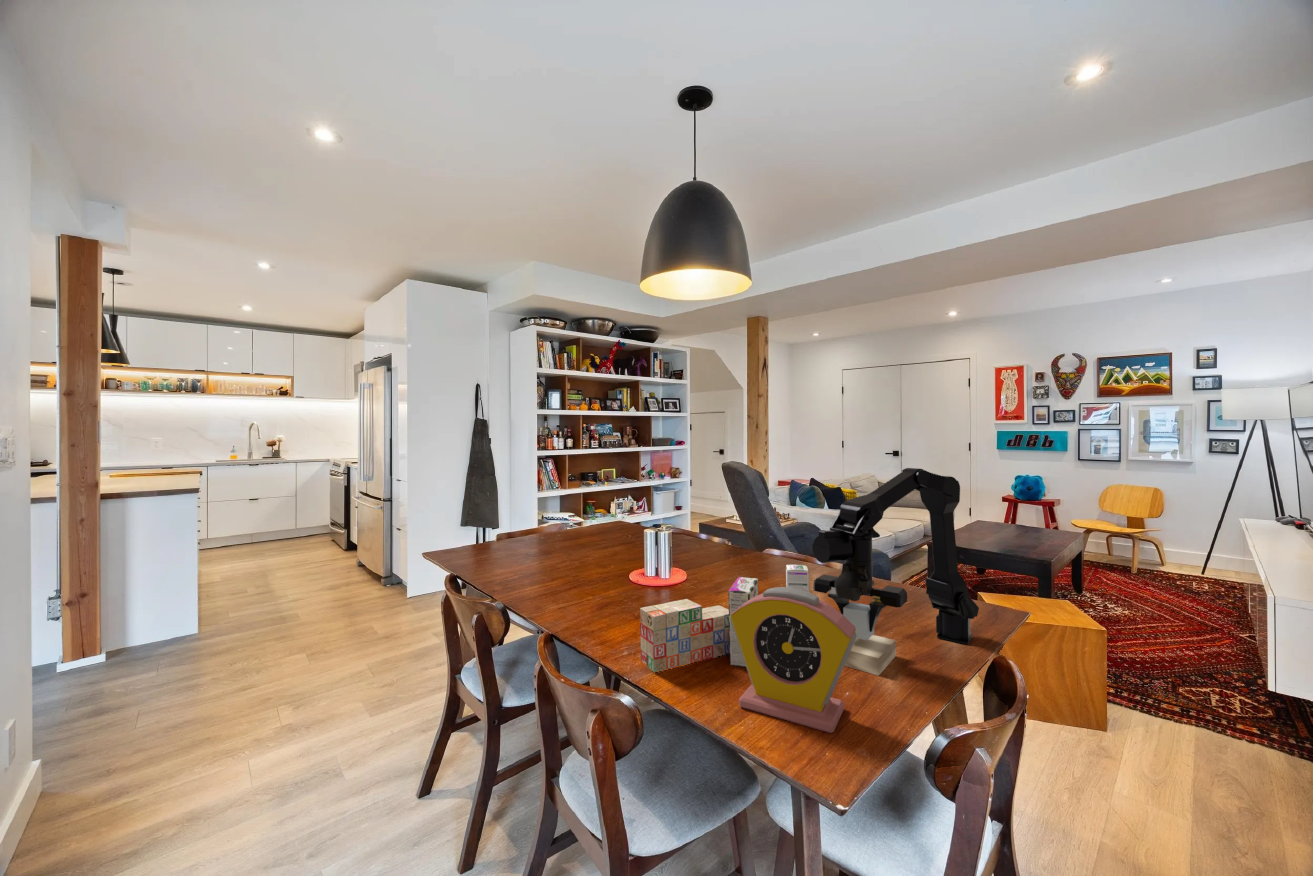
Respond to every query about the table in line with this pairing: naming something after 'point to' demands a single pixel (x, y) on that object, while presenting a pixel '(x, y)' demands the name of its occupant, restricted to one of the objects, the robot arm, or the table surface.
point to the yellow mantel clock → (793, 656)
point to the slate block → (859, 619)
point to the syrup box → (797, 577)
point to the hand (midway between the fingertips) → (858, 628)
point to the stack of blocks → (682, 634)
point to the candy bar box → (737, 597)
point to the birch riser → (871, 654)
